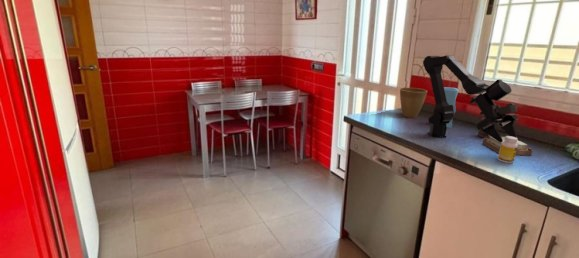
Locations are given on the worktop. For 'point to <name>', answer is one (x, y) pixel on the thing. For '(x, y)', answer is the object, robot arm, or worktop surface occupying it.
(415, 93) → the plant pot
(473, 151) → the worktop surface
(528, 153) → the brick base
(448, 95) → the vase
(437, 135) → the robot arm
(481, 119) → the supplement bottle
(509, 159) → the supplement bottle
